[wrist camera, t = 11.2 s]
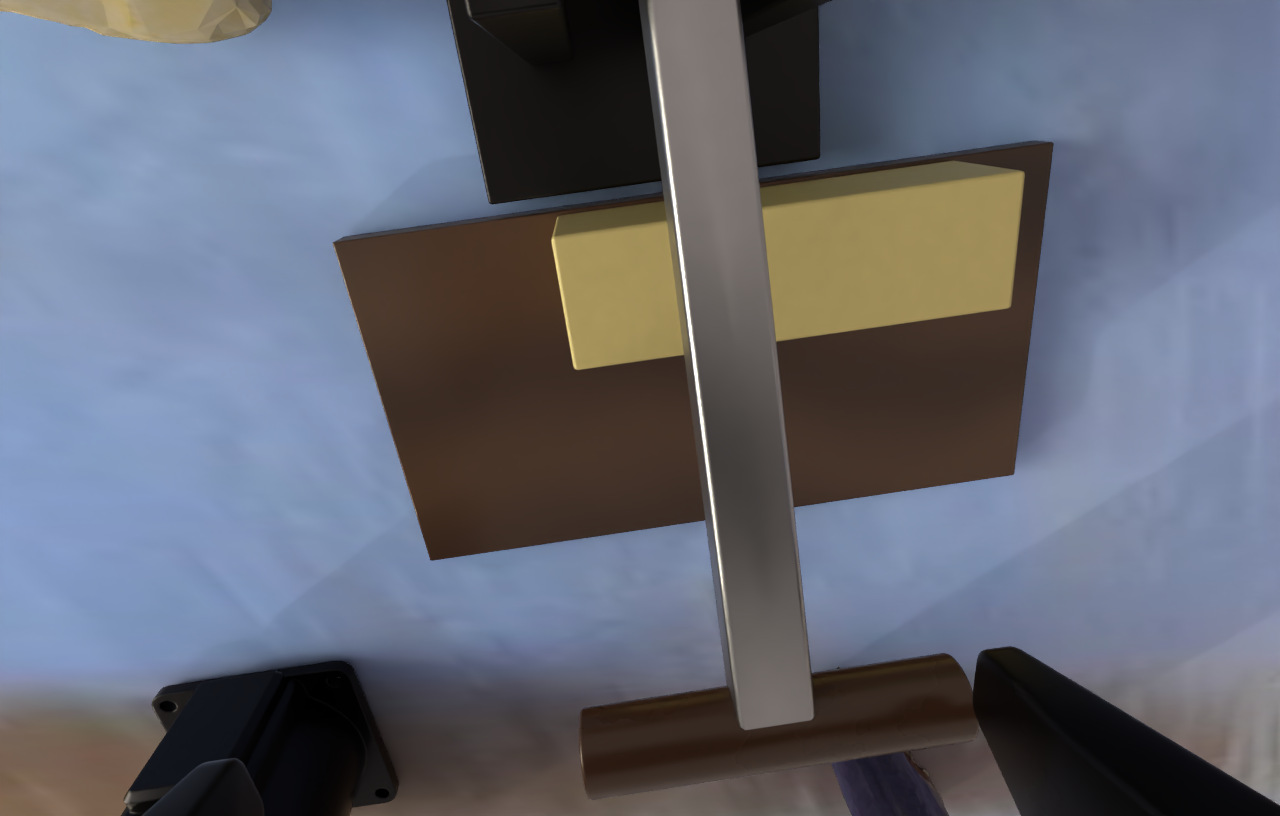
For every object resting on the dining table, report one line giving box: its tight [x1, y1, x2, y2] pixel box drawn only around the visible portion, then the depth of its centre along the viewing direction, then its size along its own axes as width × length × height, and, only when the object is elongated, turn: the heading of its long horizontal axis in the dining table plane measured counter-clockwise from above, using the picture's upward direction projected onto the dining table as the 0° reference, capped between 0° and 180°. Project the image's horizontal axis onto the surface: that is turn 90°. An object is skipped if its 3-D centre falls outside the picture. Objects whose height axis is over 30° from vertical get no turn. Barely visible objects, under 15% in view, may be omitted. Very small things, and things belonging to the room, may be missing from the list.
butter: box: [551, 161, 1025, 370], centre depth 16 cm, size 3×10×3 cm, turn 97°
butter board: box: [333, 141, 1053, 560], centre depth 19 cm, size 10×18×1 cm, turn 97°
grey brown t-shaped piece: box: [579, 0, 979, 800], centre depth 9 cm, size 14×6×2 cm, turn 7°
